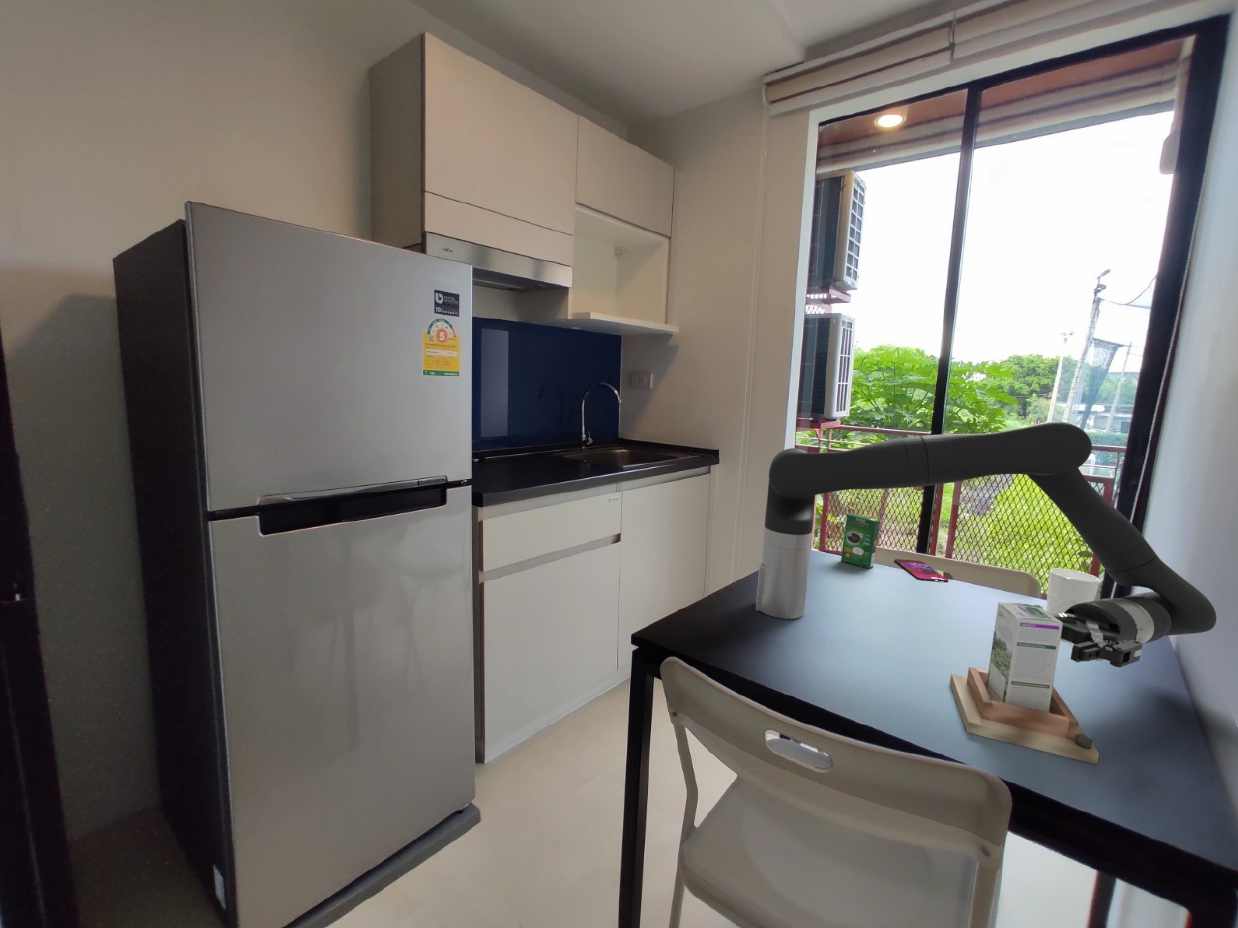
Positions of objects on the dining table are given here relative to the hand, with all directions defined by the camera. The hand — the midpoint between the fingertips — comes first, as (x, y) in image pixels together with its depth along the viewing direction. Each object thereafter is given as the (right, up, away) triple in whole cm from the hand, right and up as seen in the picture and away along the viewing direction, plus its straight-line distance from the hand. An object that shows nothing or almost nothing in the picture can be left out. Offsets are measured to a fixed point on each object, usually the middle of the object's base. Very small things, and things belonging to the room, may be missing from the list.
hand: (1040, 639), depth 76 cm
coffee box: (+4, -2, +68) cm, 68 cm away
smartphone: (+19, -4, +65) cm, 68 cm away
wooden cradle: (-3, -11, +1) cm, 12 cm away
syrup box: (-3, -10, +1) cm, 11 cm away
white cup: (+34, -8, +37) cm, 51 cm away
